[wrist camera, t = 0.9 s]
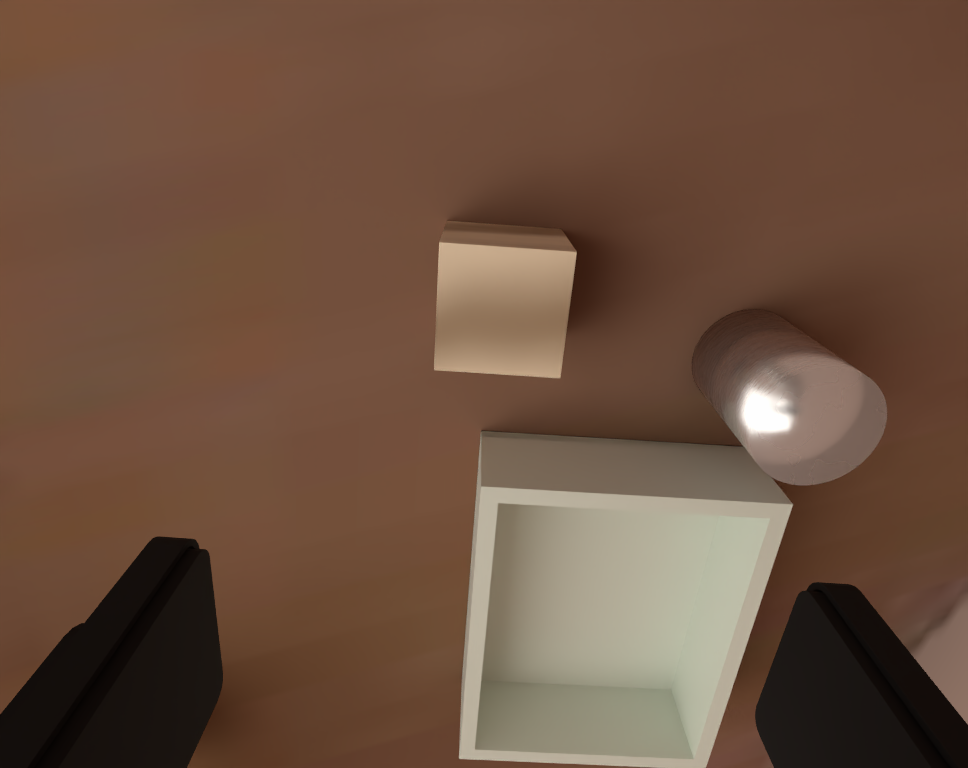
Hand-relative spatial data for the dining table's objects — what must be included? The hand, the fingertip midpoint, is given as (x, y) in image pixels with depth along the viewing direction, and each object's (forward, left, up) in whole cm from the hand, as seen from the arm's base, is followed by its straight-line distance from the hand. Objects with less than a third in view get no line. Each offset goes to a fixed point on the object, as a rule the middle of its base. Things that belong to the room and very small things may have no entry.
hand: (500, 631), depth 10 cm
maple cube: (-1, 0, -20) cm, 20 cm away
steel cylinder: (+2, +12, -20) cm, 23 cm away
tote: (+16, +7, -20) cm, 26 cm away
